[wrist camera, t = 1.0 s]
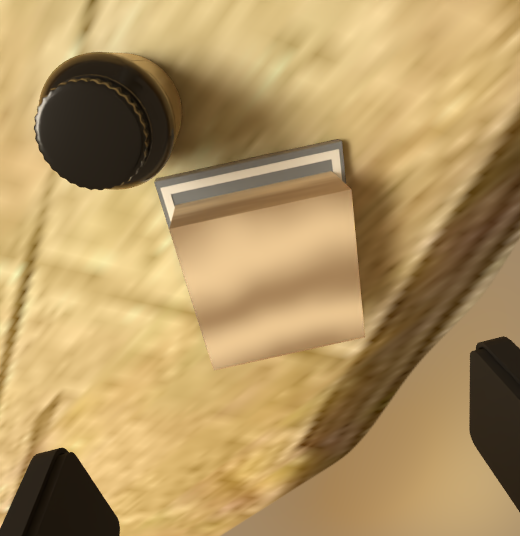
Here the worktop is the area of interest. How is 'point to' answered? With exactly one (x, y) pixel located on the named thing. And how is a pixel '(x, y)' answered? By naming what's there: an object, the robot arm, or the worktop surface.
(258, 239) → the oak plinth
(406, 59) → the worktop surface
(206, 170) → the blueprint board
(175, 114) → the supplement bottle
